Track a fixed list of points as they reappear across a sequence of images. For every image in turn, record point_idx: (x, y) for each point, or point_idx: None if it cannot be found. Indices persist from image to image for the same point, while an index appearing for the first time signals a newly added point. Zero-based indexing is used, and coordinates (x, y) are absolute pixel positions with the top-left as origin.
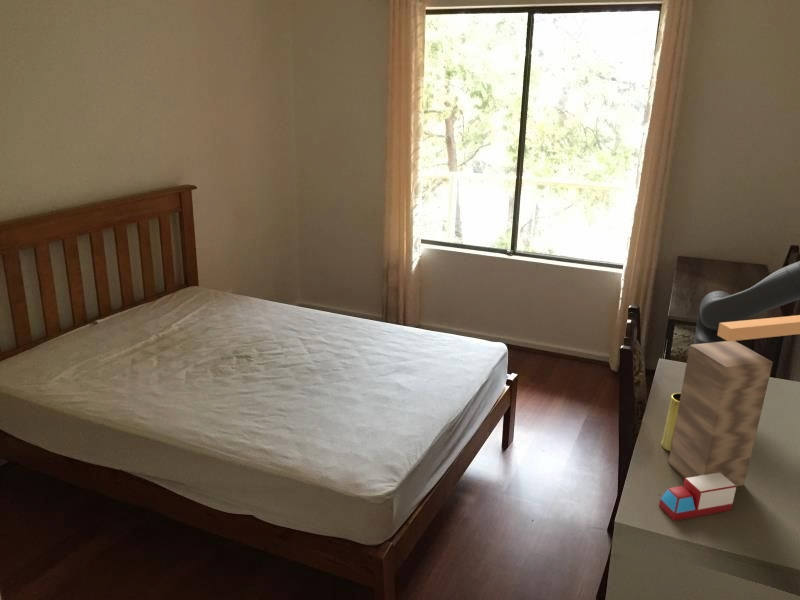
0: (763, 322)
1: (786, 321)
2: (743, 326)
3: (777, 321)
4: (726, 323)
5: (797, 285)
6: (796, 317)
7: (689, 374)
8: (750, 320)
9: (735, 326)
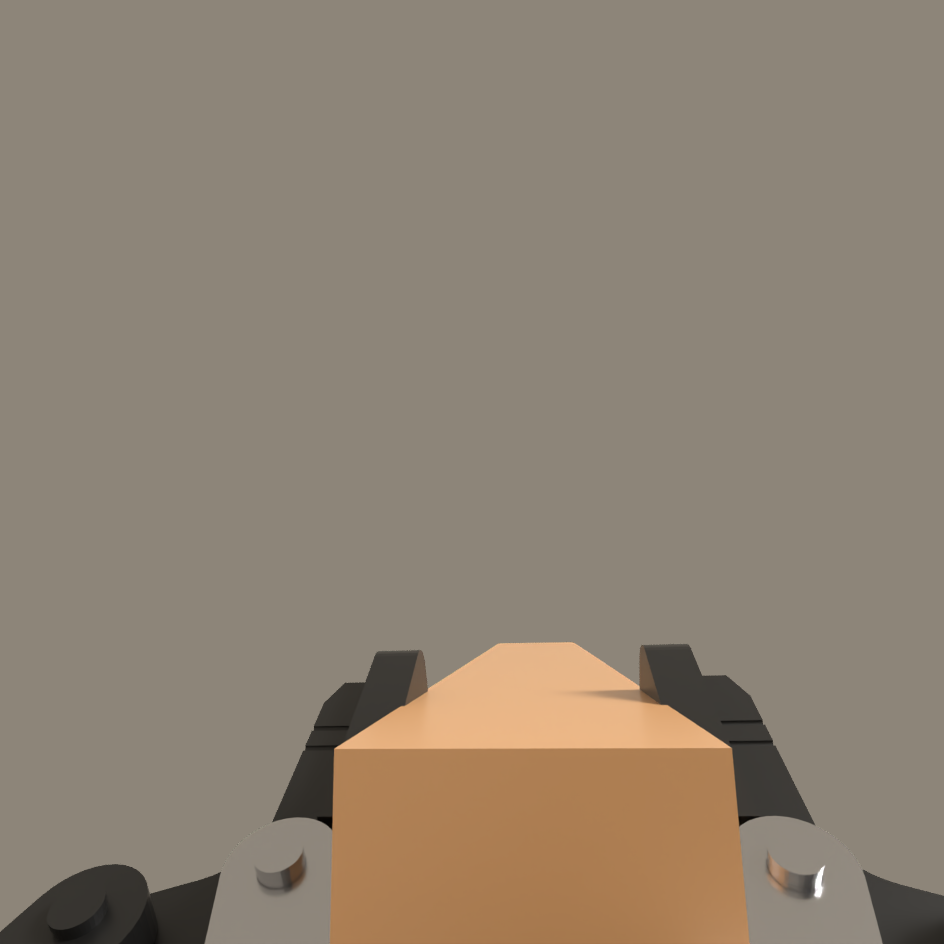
0: (528, 652)
1: (502, 663)
2: (506, 646)
3: (520, 658)
4: (558, 643)
5: None
6: (567, 674)
7: None
8: (575, 649)
9: (516, 644)
